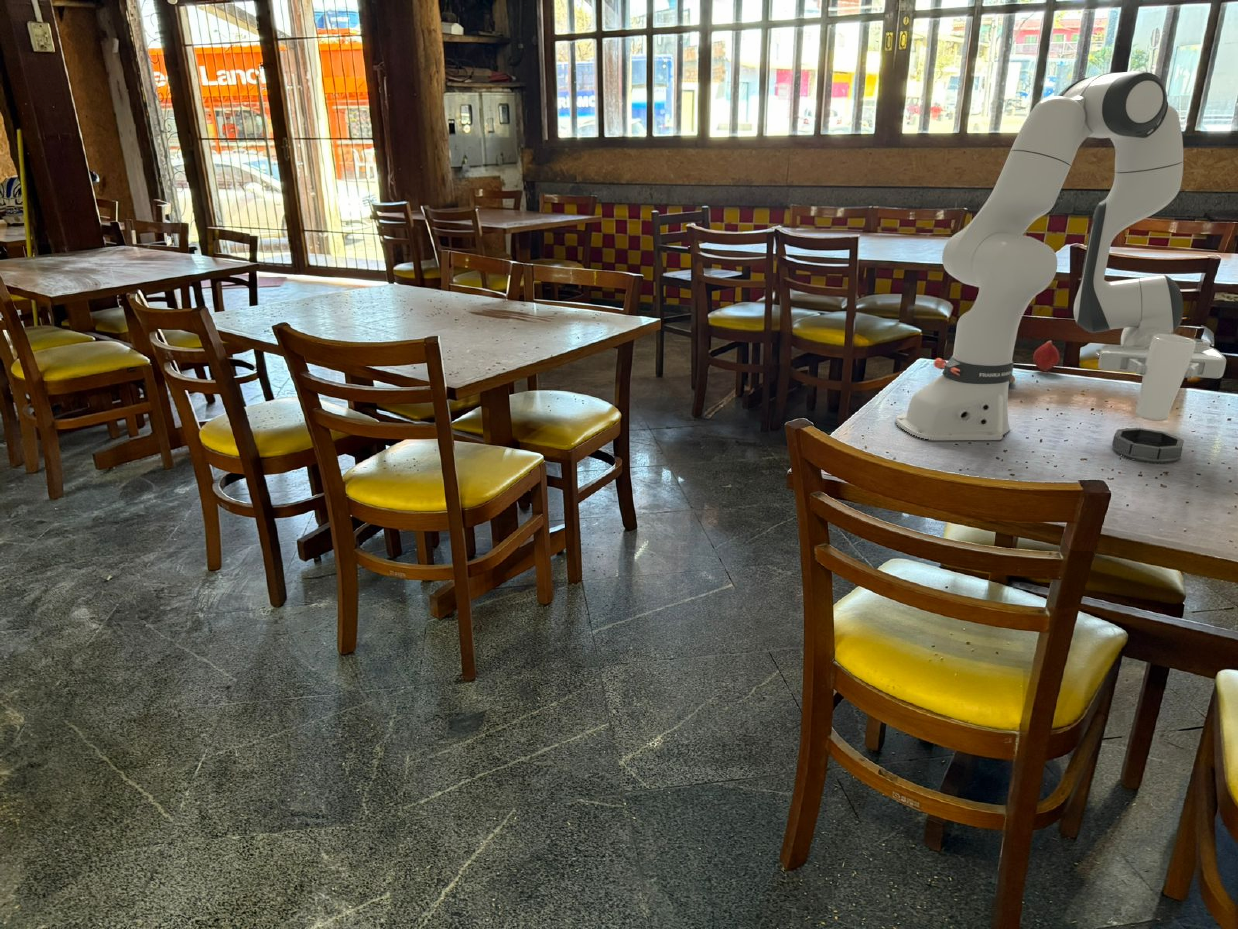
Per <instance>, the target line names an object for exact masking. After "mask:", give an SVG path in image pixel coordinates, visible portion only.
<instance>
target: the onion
mask: <svg viewBox="0 0 1238 929" xmlns="http://www.w3.org/2000/svg"><path fill="white" fill-rule="evenodd" d="M1032 360H1033V363H1034V365H1035V366H1036V367H1037V368H1038V369H1039V370H1040V371H1041V372H1043V371H1045V372H1048V371H1050V370H1051V369H1052V368H1054V367H1055V366H1056V365H1058V363H1059V361H1060V353H1059V350H1058V349H1057V348H1056V346H1055V345H1053V341H1052V340H1047V341H1046V342H1045V343H1044V344H1042V345H1041V346H1039V347H1038V348H1037V349H1036V350H1035V351H1034V353H1033V358H1032Z"/></svg>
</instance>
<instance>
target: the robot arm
mask: <svg viewBox="0 0 1238 929" xmlns="http://www.w3.org/2000/svg"><path fill="white" fill-rule="evenodd" d="M1181 126H1182V125H1181V121H1180V116H1179V114H1178V111H1177V109H1175V107H1173V106H1171V105H1169V102H1168V95H1167V90H1166V88H1165V84H1164V83H1163V81H1162V79H1160V78H1159V76H1158V75H1156V74H1154V73H1151V72H1149V71H1144V70H1132V71H1127V72H1126V71H1125V72H1124V71H1123V72H1106V73H1102V74H1098V75H1094V76H1091V77H1085V78H1084V77H1083V78H1081V79H1078V80H1076V81H1075V82H1072V83H1071V84H1069V85H1068V86H1066V87H1065V88H1064V89H1063V90H1062V91H1061V92H1060V93H1059V94H1058V95H1056V96H1055V95H1054V96H1049V97H1046V98H1043V99H1041V100H1040V101H1039V102H1037V103H1036V104H1035V105H1034V107H1033V108H1032V110H1031V111H1030V113H1029V114H1028V116H1027V118H1026V119H1025V121H1024V122H1023V124H1022V126H1021V128H1020V129H1019V131H1018V134H1017V136H1016V138H1015V140H1014V142H1013V144H1012V147H1011V148H1010V151H1009V153H1008V156H1007V158H1006V160H1005V163H1004V165H1003V168H1002V170H1001V172H1000V174H999V177H998V179H997V181H996V183H995V185H994V187H993V190H992V191H991V194H990V195H989V196H988V198H987V200H986V201H985V203H984V204H983V205H982V207H981V208H980V210H979V211H977V214H976V215H975V216H974V217H973V219H972V220H970V222H969V223H968V224H967V225H966V226H965V227H964V228H962V229H961V230H959V231H958V232H957V233H955V234H953V235H952V236H951V237H950V238H949V240H948V241H947V242H946V244H945V246H944V248H943V251H942V257H941V260H942V265H943V268H944V270H945V271H946V272H947V273H948V275H950V276H951V277H952V278H954V279H955V280H957V281H959V282H960V283H962V284H965V285H968V286H971V287H972V286H973V287H975V288H978V292H977V293H978V294H977V296H976V299H975V301H974V302H973V305H972V307H971V308H970V310H968V311H966V312H965V313H963V314H962V315H961V316H960V317H959V318H958V321H957V322H956V332H955V336H954V337H955V339H954V346H953V354H952V356H951V355H950V358H949V360H948V361H947V360H944V359H942V358H940V357H937V358H935V360H933V366H934V368H937V369H939V370H942V374H941V375H939V376H938V377H937V378H935V379H934V380H933V381H932V382H929V383H928V384H927V385H925V386H924V387H923V388H921V389H920V390H918V391H916V392H915V393H914V394H913V395H912V397H911V398H910V401H909V404H908V409H907V412H906V413H903V414H898V415H896V417H895V420H894V422H895V421H896V423H897V424H896V423H895V424H896V426H897V425H899V426H900V427H901V428H903V429H904V430H905V431H908V432H909V433H910V434H909V433H908V434H909V435H911V434H912V435H911V436H913V435H916V436H917V437H916V436H915V437H916V438H918V437H920V438H919V439H921V438H925V439H929V440H928V441H1000V440H1002V439H1003V437H1004V436H1003V435H1005V434H1007V433H1008V432H1009V431H1010V423H1009V412H1008V411H1009V409H1008V405H1009V404H1008V400H1009V399H1008V398H1009V385H1010V384H1011V383H1010V381H1011V378H1012V375H1013V371H1014V360H1013V356H1014V350H1015V346H1014V345H1016V342H1015V340H1016V341H1017V338H1016V335H1017V336H1018V330H1019V326H1020V323H1021V320H1022V318H1023V316H1024V314H1025V311H1026V310H1027V309H1028V307H1029V305H1030V303H1031V301H1032V300H1033V299H1034V298H1035V297H1036V296H1037V295H1039V294H1041V293H1042V292H1044V291H1045V290H1046V289H1047V288H1048V287H1049V286H1050V285H1051V284H1052V282H1053V280H1054V278H1055V277H1056V273H1057V269H1058V257H1057V253H1056V252H1055V250H1054V249H1053V248H1052V247H1051V246H1049V245H1048V244H1046V243H1045V242H1042V241H1041V240H1038V239H1037V238H1035V237H1032V236H1028V235H1024V233H1025V232H1026V231H1027V230H1028V228H1029V227H1030V226H1031V225H1032V224H1033V223H1034V222H1035V221H1037V219H1039V218H1041V217H1043V216H1045V215H1046V214H1047V213H1049V212H1051V210H1052V208H1054V206H1055V205H1056V202H1057V199H1058V197H1059V195H1060V192H1061V190H1062V188H1063V185H1064V183H1065V181H1066V178H1067V176H1068V174H1069V172H1070V170H1071V167H1072V164H1073V162H1074V159H1075V157H1076V155H1077V152H1078V149H1079V148H1080V146H1081V145H1082V143H1083V142H1084V141H1085V140H1086V139H1087V138H1094V139H1095V138H1096V139H1110V141H1111V142H1112V144H1113V146H1114V150H1115V155H1114V156H1115V157H1114V178H1113V184H1112V187H1111V189H1110V191H1109V192H1108V195H1107V197H1105V199H1103V200H1101V201H1100V202H1099V203H1097V205H1096V207H1095V210H1094V213H1093V215H1092V219H1091V223H1090V224H1091V225H1090V227H1089V228H1090V229H1089V233H1088V239H1087V242H1086V243H1087V244H1086V250H1085V253H1084V254H1085V255H1084V261H1083V266H1082V271H1081V272H1082V273H1081V278H1080V283H1079V287H1078V290H1077V293H1076V296H1075V299H1074V303H1073V318H1074V320H1075V324H1076V325H1077V326H1079V327H1080V328H1081V329H1083V330H1085V331H1087V332H1089V333H1090V334H1096V333H1102V332H1107V331H1110V330H1116V329H1117V330H1119V329H1123V330H1122V332H1121V336H1120V344H1105V345H1103V346H1102V347H1101V348H1100V349H1096V350H1094V355H1095V356H1096V357H1097V358H1099V359H1098V364H1097V366H1098V369H1100V370H1103V371H1107V372H1108V371H1111V372H1122V373H1135V374H1136V375H1140V376H1142V377H1143V375H1145V374H1146V370H1147V366H1146V365H1145V363H1146V359H1147V355H1148V351H1149V348H1150V345H1151V342H1152V339H1153V336H1154V335H1157V334H1168V335H1176V336H1180V334H1176V333H1174V332H1175V331H1176V330H1177V329H1178V328H1179V326H1180V325H1181V323H1182V321H1183V316H1184V315H1183V314H1184V300H1183V299H1184V298H1183V294H1182V290H1181V288H1180V286H1179V285H1178V284H1177V282H1175V281H1174V280H1173V279H1172V278H1171V277H1170V276H1168V275H1165V274H1162V275H1153V276H1144V277H1142V276H1141V277H1137V278H1129V279H1122V280H1121V279H1119V280H1112V281H1107V280H1105V276H1106V273H1107V272H1106V270H1107V265H1108V260H1109V256H1110V255H1109V254H1110V250H1111V245H1112V243H1113V241H1114V239H1115V238H1116V237H1117V235H1119V233H1121V232H1123V230H1125V229H1127V228H1128V227H1130V226H1132V225H1134V224H1135V223H1138V222H1141V221H1142V220H1145V219H1147V218H1149V217H1150V216H1152V215H1154V214H1157V213H1158V212H1159V211H1162V210H1163V209H1164V208H1165V207H1166V206H1168V205H1169V204H1170V203H1171V202H1172V201H1173V200H1174V199H1175V198H1176V196H1177V195H1178V194H1179V192H1180V190H1181V187H1182V182H1183V172H1184V141H1183V140H1184V139H1183V133H1182V127H1181ZM1181 336H1182V335H1181ZM1182 337H1184V336H1182ZM1185 337H1186V338H1190V339H1192V340H1194V341H1196V344H1195V348H1194V352H1193V356H1192V359H1191V362H1190V364H1189V367H1188V369H1187V372H1186V374H1185V377H1184V379H1194V378H1205V379H1206V378H1207V379H1221V378H1223V376H1224V373H1225V369H1226V366H1227V365H1226V364H1227V359H1226V357H1225V356H1224V355H1223V354H1222V353H1221V352H1220V351H1219V350H1218V349H1216V348H1214V347H1211V342H1210V341H1208V340H1204V339H1199V338H1192V337H1188V336H1185ZM899 426H898V427H899ZM900 427H899V428H900ZM901 428H900V429H901ZM904 430H903V431H904ZM925 439H924V440H925ZM930 439H931V440H930Z"/></svg>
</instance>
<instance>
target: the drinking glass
mask: <svg viewBox="0 0 1238 929" xmlns="http://www.w3.org/2000/svg"><path fill="white" fill-rule="evenodd" d="M1176 335H1177V334H1176ZM1176 335H1168V334H1157V335H1154V336H1153V339H1152V342H1151V345H1150V348H1149V351H1148V355H1147V359H1146V363H1145V365H1146V366H1147V370H1146V374H1145V375H1143V376H1142V381H1141V385H1140V390H1139V395H1138V399H1137V403H1136V407H1135V412H1134V413H1135V415H1136V416H1137V417H1138V418H1139V417H1140V418H1141V419H1145V420H1148V421H1154V422H1163V421H1166V420H1168V418H1169V417H1170V416H1169V415H1170V412H1171V410H1172V408H1173V404H1174V402H1175V399H1176V397H1177V395H1178V393H1179V390H1180V387H1181V386H1182V384H1183V381H1184V379H1185V378H1184V377H1185V374H1186V372H1187V369H1188V367H1189V364H1190V362H1191V359H1192V356H1193V352H1194V348H1195V344H1196V341H1194V340H1192V339H1190V338H1191V337H1188V338H1186V337H1187V336H1183V337H1182V335H1179V336H1176Z"/></svg>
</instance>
